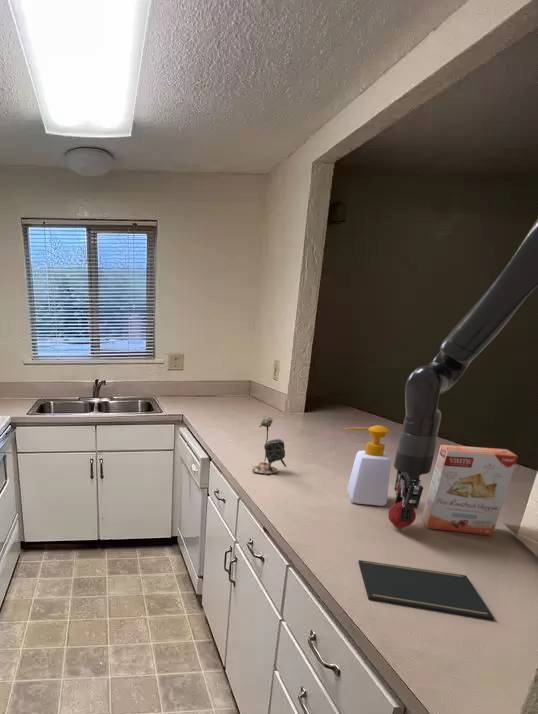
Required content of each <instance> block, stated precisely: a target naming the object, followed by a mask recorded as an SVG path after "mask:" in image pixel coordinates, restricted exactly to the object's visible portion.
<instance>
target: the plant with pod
mask: <svg viewBox="0 0 538 714" xmlns="http://www.w3.org/2000/svg"><path fill="white" fill-rule="evenodd" d="M272 424H273V418H272V417H269V416H268V415H264V417H263V419H261V422H260V425H259V428H261V427H266V438H265V439H266V440H265V443H264V446H263V448H264V452H265V455H264V462H263V461H260V462H259V465H256V466H252V472H254V473H258V474H265V475H267V474H276V473H279V472H278V469H277V468H276V467H275V466H272V463H275V462H279V461H280V463H282V465H283V466H284V467H285V468H287V465H286V463H285V461H284V458H285V457H286V450H285V441H284V440H283V439H280V438H275V439H270V440H269V428H270V427H271V426H272ZM266 460H267V462H266Z"/></svg>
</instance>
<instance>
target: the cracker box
mask: <svg viewBox="0 0 538 714" xmlns="http://www.w3.org/2000/svg"><path fill="white" fill-rule="evenodd" d="M518 459H519V455H517V454H516V453H514V452H513V451H511V450H509V449H507V448H494V447H480V446H479V447H478V446H468V445H467V446H465V445H454V444H453V445H452V444H440V446H439V449H438V454H437V458H436V460H435V461H436V462H435V465H434V469H433V472H432V477H431V479H430V480H431V481H430V485H429V487H428V492H427V496H426V499H425V504H424V508H423V512H422V515H421V520H422V522H423V523H424V525H425V527H426V528H427V529H431V530H432V529H433V530H442V531H449V532H457V533H464V534H465V533H466V534H472V535H482V536H488V537H489V536H490V537H491V536H493V533H494V531H495V528H496V525H497V522H498V519H499V516H500V513H501V511H502V507H503V504H504V501H505V498H506V495H507V492H508V489H509V486H510V483H511V480H512V477H513V474H514V470H515V468H516V465H517V462H518Z"/></svg>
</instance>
